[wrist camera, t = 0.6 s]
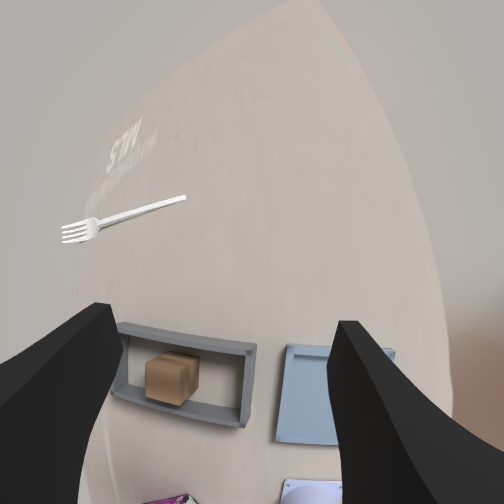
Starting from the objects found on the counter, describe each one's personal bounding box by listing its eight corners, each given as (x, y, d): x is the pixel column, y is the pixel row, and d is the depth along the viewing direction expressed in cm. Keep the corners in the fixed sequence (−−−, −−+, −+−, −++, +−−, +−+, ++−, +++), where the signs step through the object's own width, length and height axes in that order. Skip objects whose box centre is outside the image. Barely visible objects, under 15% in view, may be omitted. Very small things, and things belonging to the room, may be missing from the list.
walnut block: (198, 387, 33) (179, 405, 27) (168, 380, 34) (145, 396, 28) (199, 357, 33) (180, 370, 27) (169, 351, 34) (145, 362, 28)
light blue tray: (372, 438, 29) (375, 444, 27) (276, 435, 31) (275, 440, 29) (391, 348, 30) (395, 351, 28) (287, 343, 32) (287, 346, 30)
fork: (190, 210, 36) (185, 207, 34) (70, 247, 38) (62, 245, 36) (187, 186, 36) (181, 181, 35) (68, 226, 39) (61, 224, 37)
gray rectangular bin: (250, 415, 32) (244, 428, 28) (124, 386, 34) (110, 394, 31) (257, 343, 32) (251, 350, 29) (124, 321, 35) (109, 325, 32)
